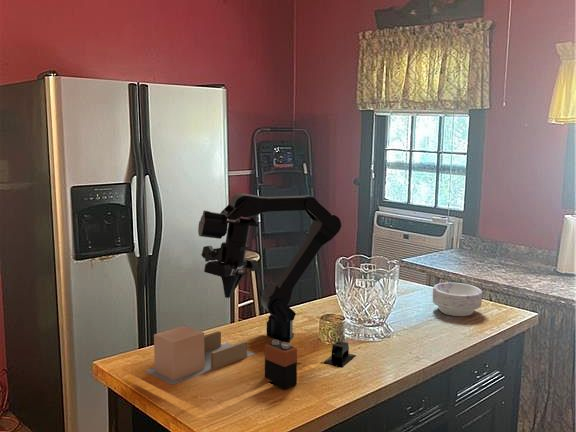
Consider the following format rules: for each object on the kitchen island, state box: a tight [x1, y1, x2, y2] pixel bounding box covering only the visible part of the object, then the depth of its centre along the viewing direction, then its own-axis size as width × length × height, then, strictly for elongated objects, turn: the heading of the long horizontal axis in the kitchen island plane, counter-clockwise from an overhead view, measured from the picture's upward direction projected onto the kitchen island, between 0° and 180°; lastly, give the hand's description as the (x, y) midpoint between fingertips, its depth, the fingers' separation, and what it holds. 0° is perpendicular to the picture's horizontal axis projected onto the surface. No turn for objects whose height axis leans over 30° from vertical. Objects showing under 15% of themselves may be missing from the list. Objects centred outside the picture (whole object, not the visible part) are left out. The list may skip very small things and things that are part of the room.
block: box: [153, 325, 205, 380], centre depth 146 cm, size 9×8×9 cm
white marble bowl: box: [432, 282, 483, 317], centre depth 196 cm, size 15×15×8 cm
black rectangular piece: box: [321, 340, 357, 369], centre depth 157 cm, size 12×7×5 cm, turn 150°
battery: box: [264, 339, 298, 390], centre depth 142 cm, size 4×7×10 cm, turn 45°
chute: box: [144, 330, 256, 386], centre depth 151 cm, size 26×11×5 cm, turn 137°
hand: (227, 297), depth 165 cm, fingers closed
